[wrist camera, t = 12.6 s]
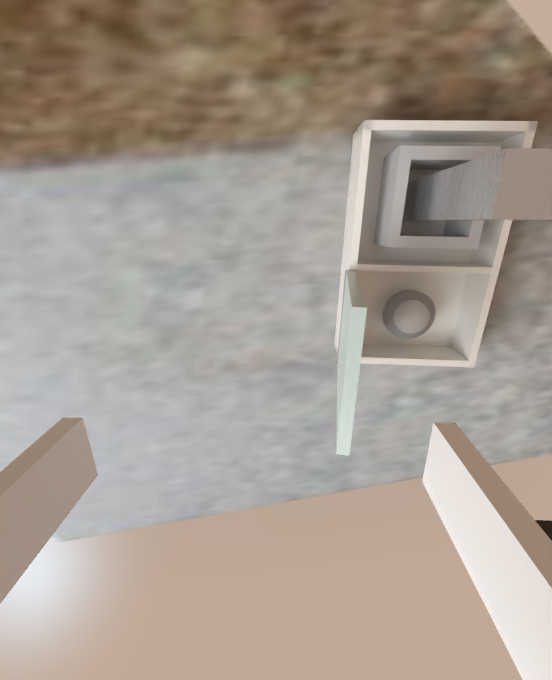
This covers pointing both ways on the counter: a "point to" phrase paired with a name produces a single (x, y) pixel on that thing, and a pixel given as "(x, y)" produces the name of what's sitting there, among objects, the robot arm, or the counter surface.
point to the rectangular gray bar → (486, 189)
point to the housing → (421, 242)
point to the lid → (349, 358)
